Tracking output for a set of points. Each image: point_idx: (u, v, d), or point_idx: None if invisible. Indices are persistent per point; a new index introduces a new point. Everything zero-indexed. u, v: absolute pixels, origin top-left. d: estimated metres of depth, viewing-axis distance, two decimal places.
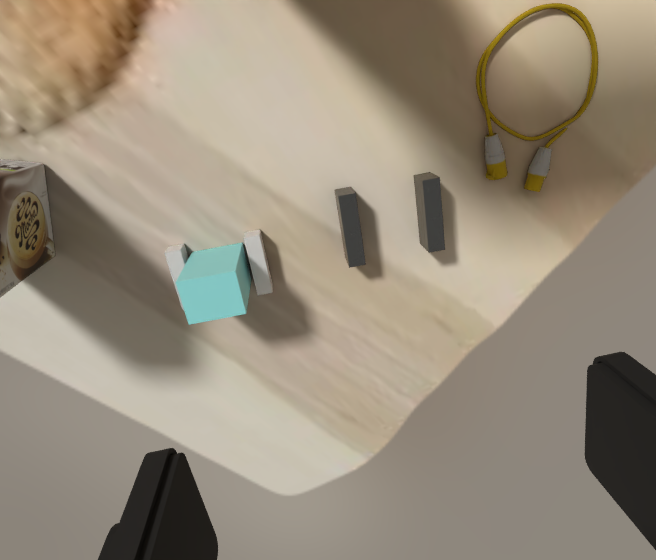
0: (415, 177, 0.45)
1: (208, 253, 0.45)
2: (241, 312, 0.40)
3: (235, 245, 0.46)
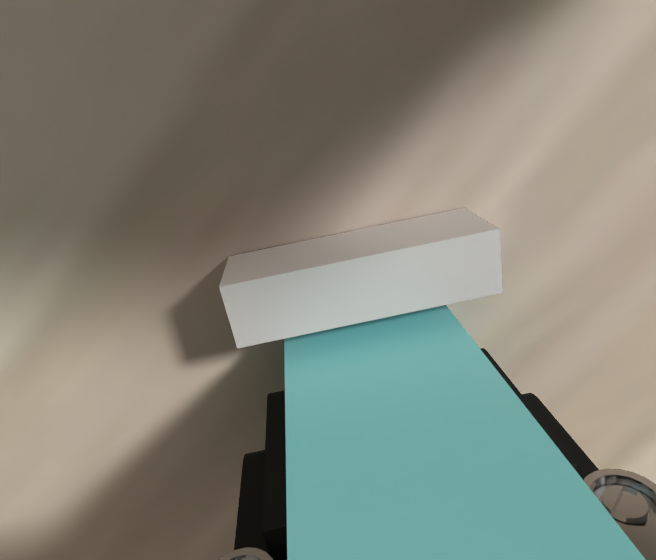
0: None
1: None
2: None
3: None
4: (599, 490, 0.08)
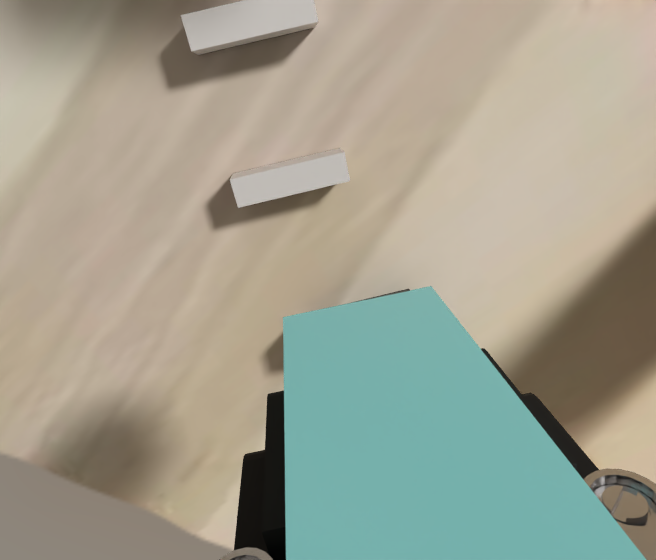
0: None
1: None
2: None
3: None
4: (599, 490, 0.08)
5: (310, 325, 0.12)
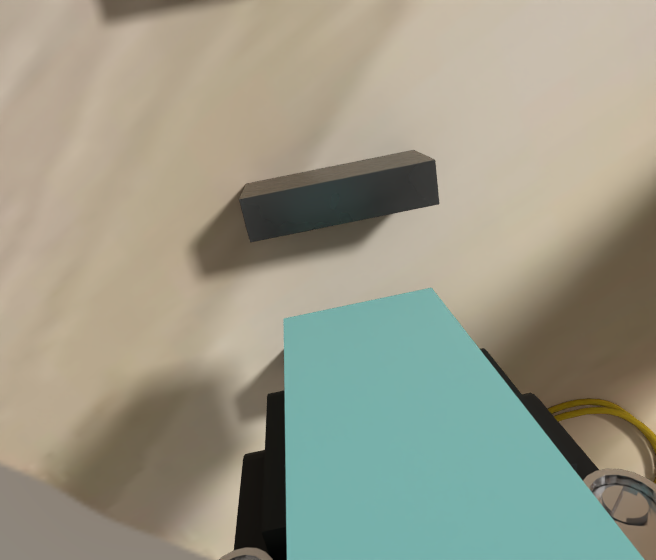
0: None
1: None
2: None
3: None
4: (599, 490, 0.08)
5: (311, 327, 0.12)
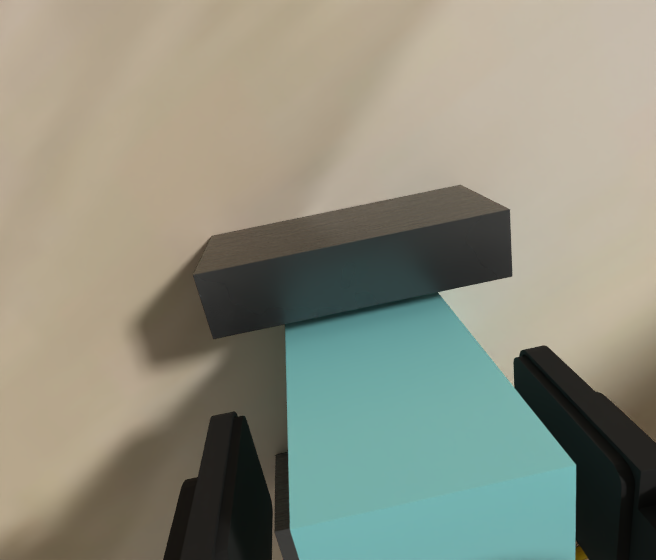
0: None
1: None
2: None
3: None
4: None
5: None
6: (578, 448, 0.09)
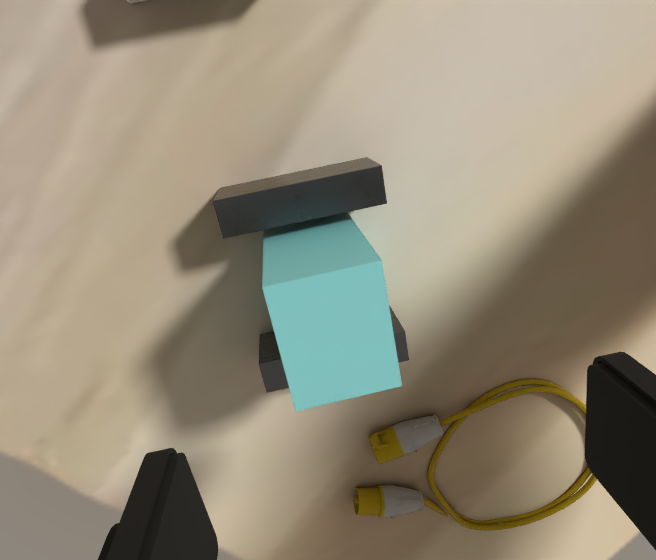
0: None
1: None
2: (298, 402, 0.17)
3: None
4: None
5: (278, 227, 0.22)
6: None
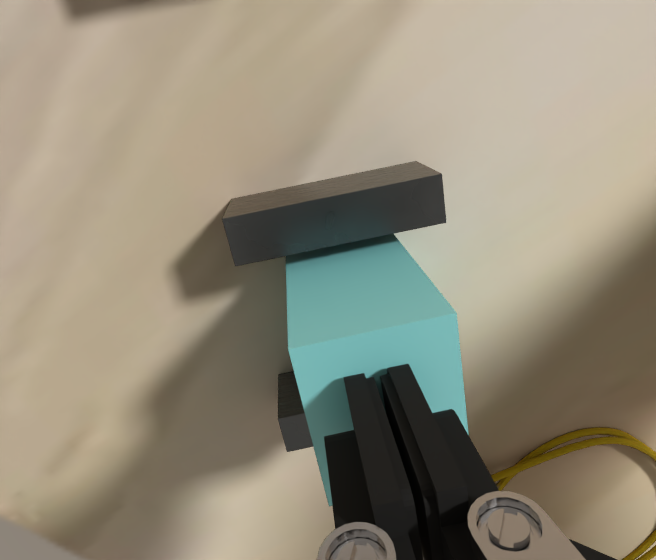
0: None
1: None
2: None
3: None
4: (483, 518, 0.07)
5: None
6: (408, 466, 0.09)
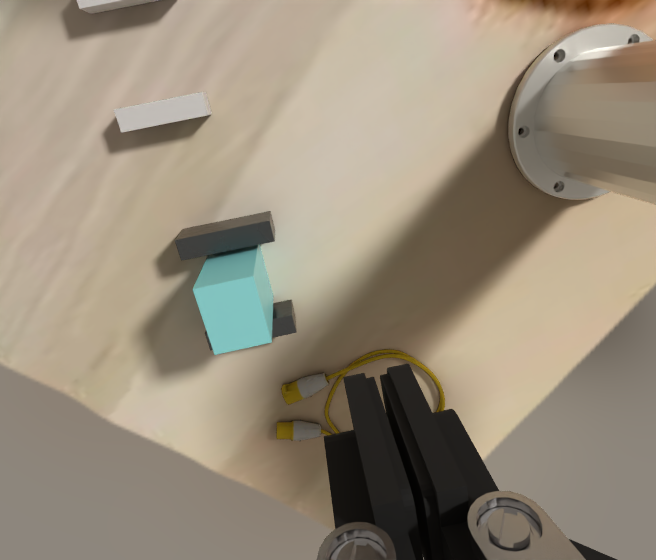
0: (290, 302, 0.39)
1: (263, 268, 0.37)
2: (216, 350, 0.32)
3: (271, 291, 0.39)
4: (484, 517, 0.07)
5: None
6: (408, 466, 0.09)
